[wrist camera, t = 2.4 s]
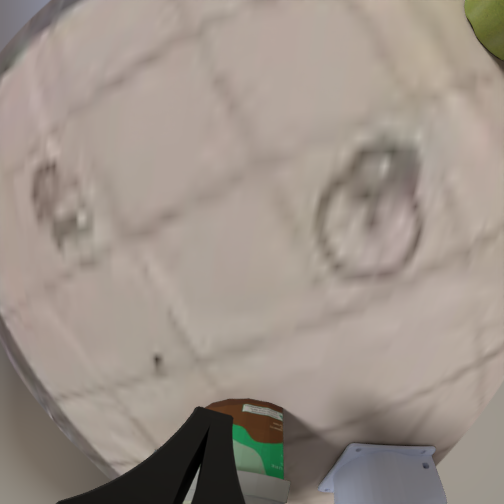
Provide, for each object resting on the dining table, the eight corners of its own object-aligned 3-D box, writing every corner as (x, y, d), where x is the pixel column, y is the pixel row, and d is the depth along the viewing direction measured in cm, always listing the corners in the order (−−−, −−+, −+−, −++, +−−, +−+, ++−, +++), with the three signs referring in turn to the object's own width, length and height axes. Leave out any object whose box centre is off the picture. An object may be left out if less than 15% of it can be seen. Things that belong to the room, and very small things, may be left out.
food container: (220, 357, 21) (176, 467, 11) (293, 395, 21) (288, 510, 11) (161, 439, 24) (121, 520, 15) (218, 468, 24) (195, 552, 15)
